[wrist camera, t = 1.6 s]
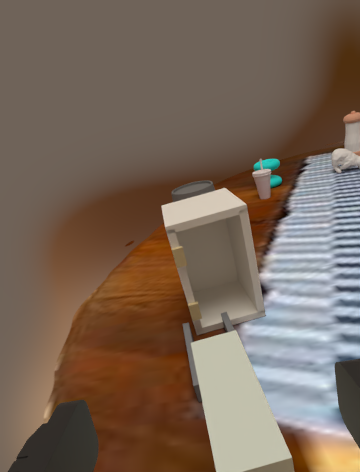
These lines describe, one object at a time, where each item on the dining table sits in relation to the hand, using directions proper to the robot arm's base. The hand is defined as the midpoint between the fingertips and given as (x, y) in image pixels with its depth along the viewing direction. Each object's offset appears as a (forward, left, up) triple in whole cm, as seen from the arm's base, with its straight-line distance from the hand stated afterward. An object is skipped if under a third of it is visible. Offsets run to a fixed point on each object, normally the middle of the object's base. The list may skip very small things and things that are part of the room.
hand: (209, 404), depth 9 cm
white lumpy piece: (-70, -96, -25) cm, 121 cm away
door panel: (-1, -8, -25) cm, 26 cm away
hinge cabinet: (-4, -32, -25) cm, 40 cm away
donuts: (-42, -105, -25) cm, 115 cm away
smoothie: (-35, -92, -25) cm, 101 cm away
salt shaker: (-81, -109, -25) cm, 138 cm away
